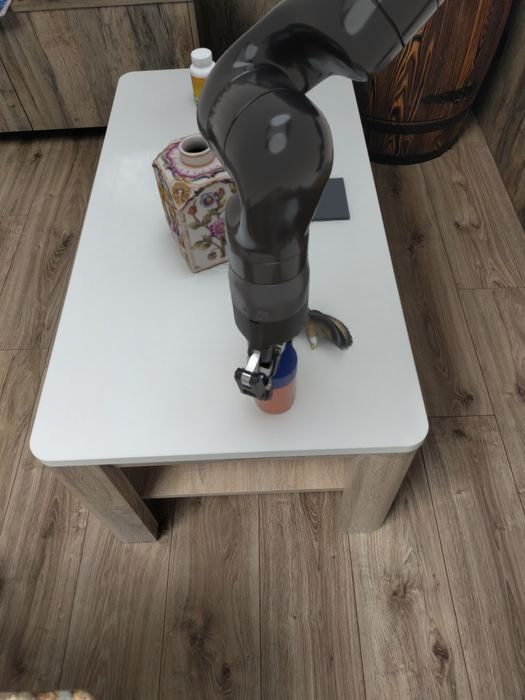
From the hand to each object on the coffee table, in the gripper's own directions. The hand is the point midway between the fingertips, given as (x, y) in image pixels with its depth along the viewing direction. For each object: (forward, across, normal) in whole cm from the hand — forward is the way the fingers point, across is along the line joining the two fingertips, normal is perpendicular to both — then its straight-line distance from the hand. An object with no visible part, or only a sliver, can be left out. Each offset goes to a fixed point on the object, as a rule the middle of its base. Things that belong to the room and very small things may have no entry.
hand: (273, 374), depth 62 cm
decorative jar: (+6, -23, -21) cm, 31 cm away
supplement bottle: (+6, -58, -40) cm, 71 cm away
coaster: (+6, -38, -8) cm, 39 cm away
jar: (+6, 0, 0) cm, 6 cm away
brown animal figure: (+6, -11, +2) cm, 13 cm away
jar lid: (-3, 0, 0) cm, 3 cm away
